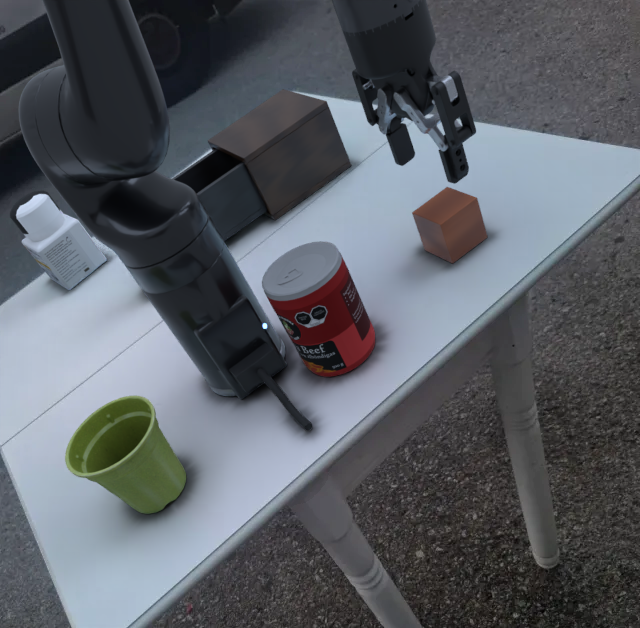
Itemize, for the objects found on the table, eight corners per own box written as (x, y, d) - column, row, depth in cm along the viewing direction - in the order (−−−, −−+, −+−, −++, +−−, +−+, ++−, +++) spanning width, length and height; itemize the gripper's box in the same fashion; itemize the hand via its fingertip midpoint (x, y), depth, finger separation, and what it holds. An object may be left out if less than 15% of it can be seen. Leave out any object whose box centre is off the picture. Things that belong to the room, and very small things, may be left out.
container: (51, 280, 113) (-4, 211, 105) (88, 250, 115) (37, 181, 107) (69, 291, 108) (12, 220, 99) (108, 260, 110) (55, 187, 101)
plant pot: (105, 533, 69) (48, 480, 63) (136, 457, 75) (87, 402, 69) (186, 526, 65) (133, 469, 59) (212, 446, 71) (167, 388, 65)
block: (488, 237, 76) (477, 197, 73) (452, 263, 75) (440, 225, 72) (458, 224, 80) (447, 186, 76) (424, 250, 79) (411, 212, 76)
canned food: (292, 364, 75) (246, 283, 67) (345, 316, 77) (305, 233, 69) (337, 389, 69) (292, 305, 62) (393, 337, 71) (355, 249, 64)
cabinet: (275, 220, 97) (243, 158, 91) (237, 198, 107) (206, 140, 100) (352, 165, 99) (326, 100, 93) (308, 148, 108) (283, 88, 102)
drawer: (185, 274, 95) (154, 226, 90) (157, 249, 104) (128, 204, 98) (283, 204, 98) (259, 153, 92) (249, 185, 106) (224, 138, 101)
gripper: (305, 24, 66) (364, 176, 77) (396, 34, 56) (449, 207, 67) (367, -19, 67) (416, 137, 78) (467, -17, 57) (507, 162, 68)
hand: (431, 169), depth 72 cm, fingers open, 8 cm apart
